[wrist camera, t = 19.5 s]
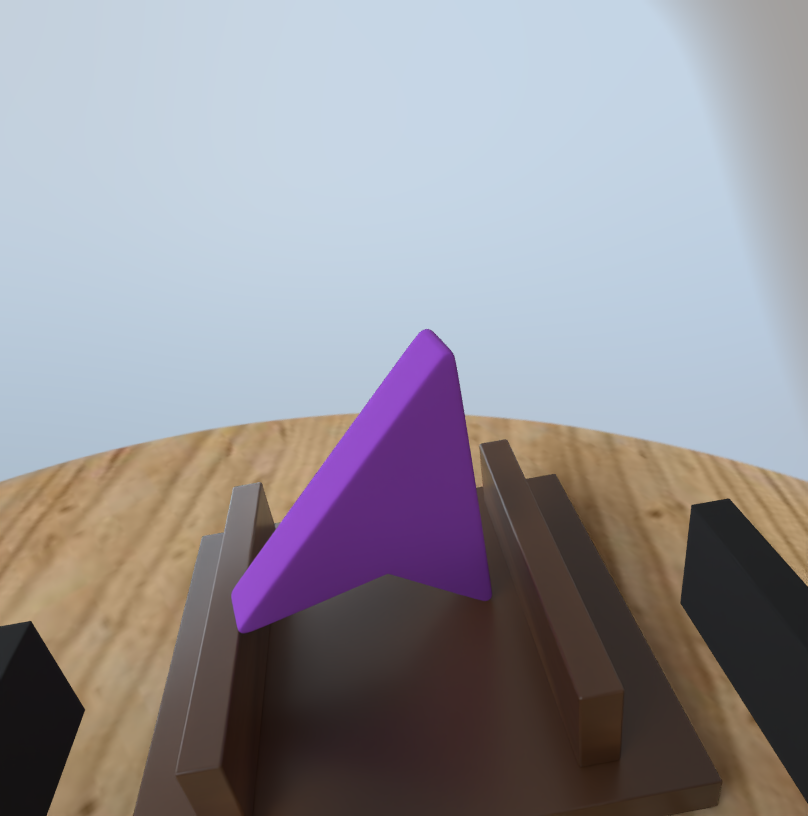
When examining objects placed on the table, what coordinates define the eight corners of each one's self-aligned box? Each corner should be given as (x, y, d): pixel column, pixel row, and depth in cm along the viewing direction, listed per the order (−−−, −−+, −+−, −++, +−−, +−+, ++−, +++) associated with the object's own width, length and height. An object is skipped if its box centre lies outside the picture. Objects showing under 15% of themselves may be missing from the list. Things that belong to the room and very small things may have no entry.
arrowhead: (351, 704, 23) (147, 578, 17) (338, 666, 24) (145, 537, 18) (575, 538, 23) (451, 349, 17) (550, 509, 24) (427, 323, 18)
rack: (555, 494, 30) (554, 416, 27) (718, 806, 17) (737, 709, 15) (209, 555, 29) (181, 481, 27) (128, 920, 17) (64, 836, 15)
